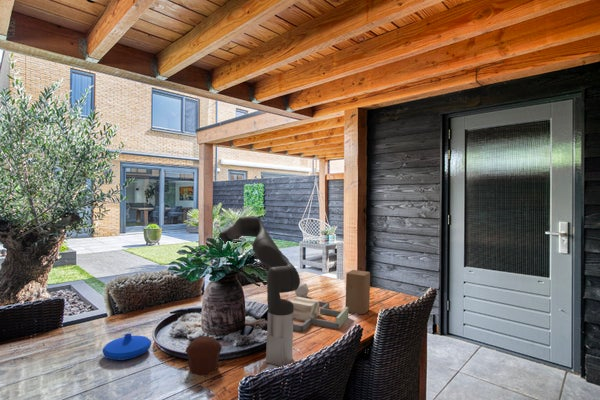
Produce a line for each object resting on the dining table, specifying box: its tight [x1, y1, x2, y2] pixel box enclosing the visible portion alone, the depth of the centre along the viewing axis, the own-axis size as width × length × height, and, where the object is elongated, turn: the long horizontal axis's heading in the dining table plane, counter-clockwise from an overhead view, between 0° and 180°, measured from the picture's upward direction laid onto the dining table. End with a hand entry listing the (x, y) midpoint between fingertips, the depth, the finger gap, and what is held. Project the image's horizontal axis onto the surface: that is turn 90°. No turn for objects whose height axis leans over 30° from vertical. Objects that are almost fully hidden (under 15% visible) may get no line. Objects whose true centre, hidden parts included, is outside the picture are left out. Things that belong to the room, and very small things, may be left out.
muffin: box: [185, 335, 223, 376], centre depth 112 cm, size 12×11×10 cm
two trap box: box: [293, 300, 349, 333], centre depth 161 cm, size 36×26×5 cm
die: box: [294, 282, 310, 298], centre depth 194 cm, size 8×9×10 cm
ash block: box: [289, 296, 320, 322], centre depth 163 cm, size 10×12×8 cm
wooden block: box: [344, 269, 371, 315], centre depth 173 cm, size 10×10×20 cm
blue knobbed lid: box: [102, 333, 152, 361], centre depth 120 cm, size 16×16×7 cm
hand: (266, 284), depth 172 cm, fingers closed
